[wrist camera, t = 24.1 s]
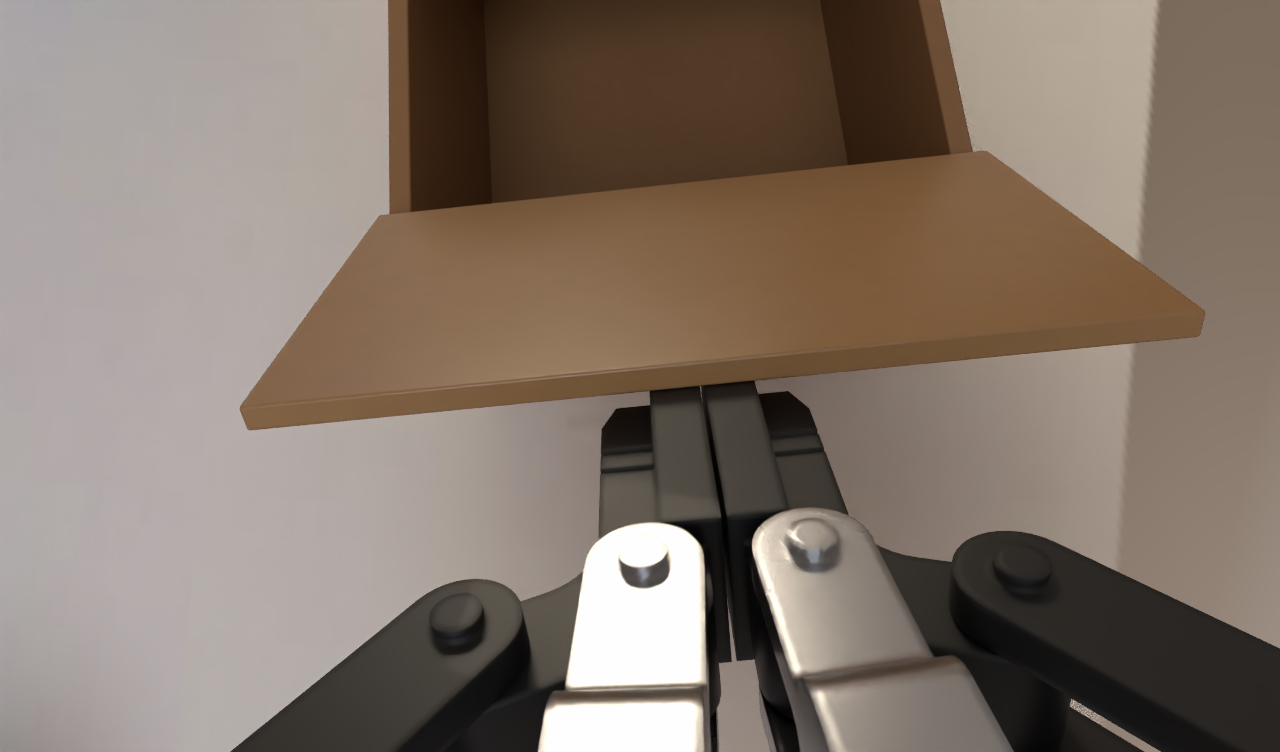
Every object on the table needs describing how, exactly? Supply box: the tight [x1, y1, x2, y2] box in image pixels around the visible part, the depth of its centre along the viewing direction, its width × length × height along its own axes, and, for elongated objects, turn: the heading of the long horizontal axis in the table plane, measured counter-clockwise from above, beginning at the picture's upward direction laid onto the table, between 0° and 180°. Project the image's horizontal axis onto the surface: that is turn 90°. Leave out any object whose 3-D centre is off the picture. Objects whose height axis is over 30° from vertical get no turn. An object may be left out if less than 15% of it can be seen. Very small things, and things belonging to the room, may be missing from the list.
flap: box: [240, 151, 1205, 430], centre depth 15 cm, size 8×13×1 cm
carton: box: [388, 0, 973, 214], centre depth 25 cm, size 16×13×10 cm
